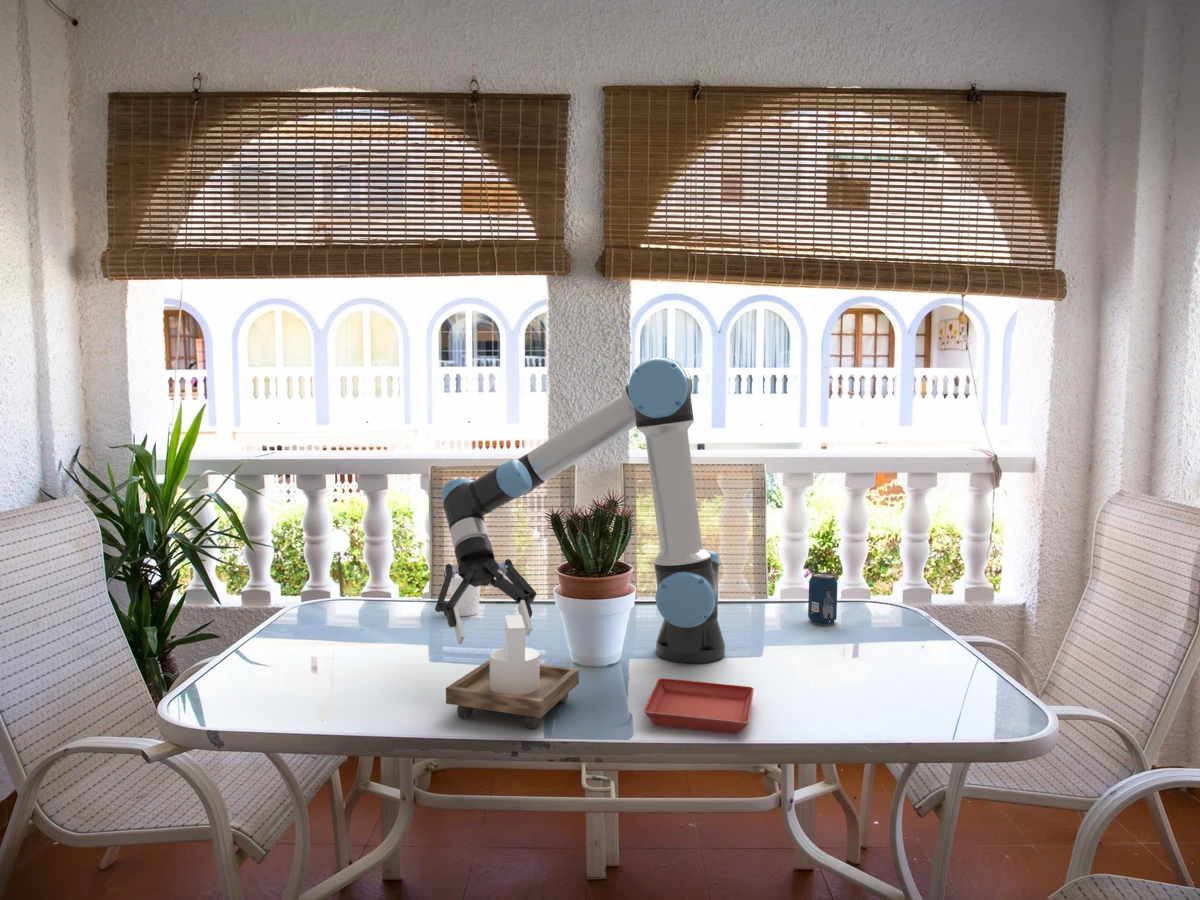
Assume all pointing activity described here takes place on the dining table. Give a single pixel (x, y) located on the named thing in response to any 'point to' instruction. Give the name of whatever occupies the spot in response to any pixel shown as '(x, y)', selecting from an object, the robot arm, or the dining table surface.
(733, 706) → the plant saucer
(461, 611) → the white cup
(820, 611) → the soda can
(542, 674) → the cart
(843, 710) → the dining table surface
